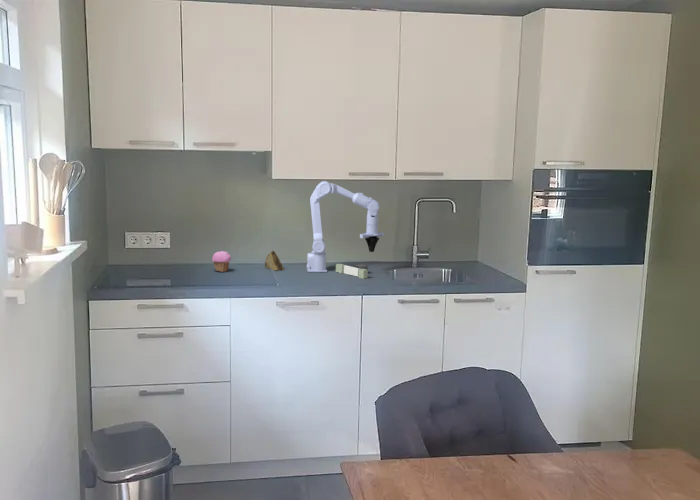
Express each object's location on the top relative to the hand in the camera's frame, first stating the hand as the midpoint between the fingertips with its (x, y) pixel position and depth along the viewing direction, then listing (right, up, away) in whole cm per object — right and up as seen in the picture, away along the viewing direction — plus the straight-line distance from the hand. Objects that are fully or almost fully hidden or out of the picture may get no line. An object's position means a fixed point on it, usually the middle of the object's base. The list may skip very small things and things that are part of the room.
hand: (371, 251), depth 324 cm
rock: (-48, -9, +2) cm, 49 cm away
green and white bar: (-10, -11, -8) cm, 17 cm away
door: (-10, -11, -9) cm, 17 cm away
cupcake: (-73, -10, -8) cm, 74 cm away
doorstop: (-5, -11, -3) cm, 12 cm away
